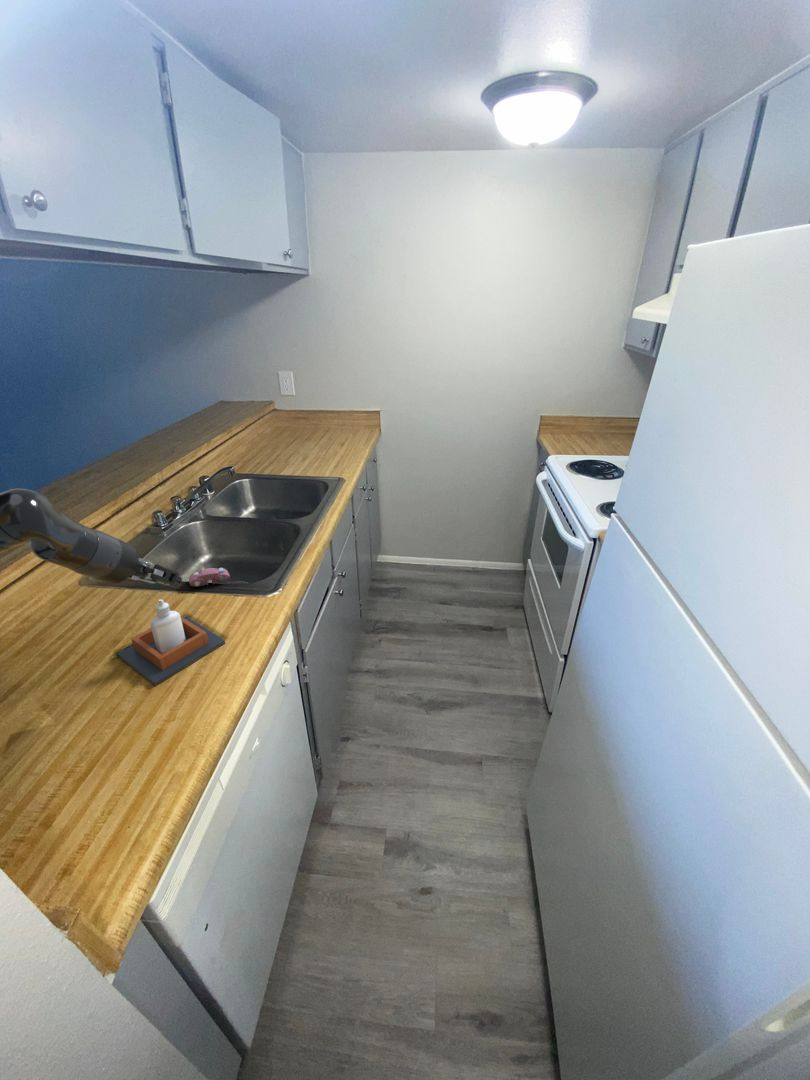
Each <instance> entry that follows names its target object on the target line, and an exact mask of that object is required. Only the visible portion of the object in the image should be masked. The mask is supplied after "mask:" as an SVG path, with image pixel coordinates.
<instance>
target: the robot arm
mask: <svg viewBox="0 0 810 1080" xmlns="http://www.w3.org/2000/svg"><path fill="white" fill-rule="evenodd" d="M27 542H29V547H30V550H31V552H32V553H33V554H34V555H35V557H37V558H39V559H41V560H42V561H45V562H47V563H50V564H53V565H55V566H59V567H62V568H66V569H67V570H70V571H72V572H74V573H75V574H78V575H82V576H84V577H88V578H90V579H94V580H97V581H100V582H103V583H107V584H115V585H116V584H120V583H122V582H124V581H126V580H127V579H130V580H133V581H140V582H144V583H145V582H146V583H149V584H156V583H158V584H162V585H163V586H169V587H171V588H173V589H179V588H180V587H181V584H182V581H183V577H181V576H179V575H180V573H178V571H174V570H172V569H170V568H167V567H165V566H162V565H160V564H155V563H153V562H150V561H147V560H146V559H144V558H141V557H139V555H138V552H137V550H136V548H135V547H134V546H133V545H132V544H130V543H128V542H126V541H124V540H121V539H119V538H117V537H114V536H113V535H110V534H108V533H106V532H104V531H101V530H99V529H94V528H92V527H89V526H86V525H84V524H82V523H80V522H78V521H75V520H73V519H72V518H70V517H69V516H68V515H67V514H66V513H65V512H64V511H63V510H61V508H59V507H58V506H57V505H56V504H55V503H54V502H53V501H52V500H51V499H50V498H49V497H47V496H46V495H45V494H43V493H42V492H40V491H37V490H35V489H30V488H25V487H23V488H22V487H17V488H16V487H15V488H11V489H7V490H5V491H3V492H0V553H4V552H5V551H8V550H11V549H13V548H15V547H19V546H21V545H23V544H26V543H27ZM149 575H150V576H149ZM148 576H149V578H147V577H148Z"/></svg>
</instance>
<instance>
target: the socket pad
mask: <svg viewBox="0 0 810 1080" xmlns="http://www.w3.org/2000/svg"><path fill="white" fill-rule="evenodd" d="M180 617H181V621H182V625H183V629H184V634H185V638H186V641H185V642H183V643H181V644H179V645H178V646H176V647H174V648H172V649H171V650H169V651H167V652H165V653H164V654H161V653H159V652H158V651H157V648H156V644H155V641H154V637H153V633H152V629H151V627H150V628H149V629H148V628H147V629H146V630H145V631H142V632H141V633H139V634H137V635H134V636H133V637H131V638H130V640H131V643H132V644H131V645H130V646H128V647H126V648H124V649H122V650H120V651H118V652H117V653H116V655H117V658H118V659H120V660H121V661H122V662H123V663H125V664H126V665H127V666H129V667H130V668H131V669H132V670H134V671H135V672H136V673H138V674H139V675H140V676H141V677H143V678H144V679H145V680H147V681H148V682H149V683H150V684H151V685H153V686H154V687H157V686H158V685H161V684H162V683H164V682H165V681H167V680H168V679H170V678H172V677H173V676H175V675H176V674H178V673H180V672H182V671H183V670H184V669H186V668H188V667H189V666H191V665H193V664H194V663H196V662H198V661H199V660H201V659H202V658H204V657H205V656H207V655H209V654H210V653H212V652H214V651H215V650H217V649H219V648H220V647H222V646H223V645H225V644H226V640H225V639H224V638H222V637H221V636H219V635H218V634H216V633H214V632H213V631H212V630H209V629H208V628H206V627H204V626H203V625H201V624H200V623H198V622H197V621H195V620H193V619H192V618H190V617H188V616H185V617H183V616H182V615H180Z"/></svg>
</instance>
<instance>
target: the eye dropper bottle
mask: <svg viewBox="0 0 810 1080" xmlns="http://www.w3.org/2000/svg"><path fill="white" fill-rule="evenodd" d="M155 611H156V614H157V615H155V617H154V618H152V619H151V620H150V628H151V629H152V633H153V637H154V641H155V644H156V648H157V651H158V652H159V653H161V654H164V653H165V652H167V651H169V650H171V649H172V648H174V647H176V646H178V645H179V644H181V643H183V642H185V641H186V638H185V634H184V629H183V625H182V621H181V617H182V616H181V614H180V613H179V612H178V611H176V610H171V608H170V604H169V603H168V602H165V601H164V599H162V598H160V599H158V604H156V605H155ZM180 616H181V617H180Z"/></svg>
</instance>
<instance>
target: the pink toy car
mask: <svg viewBox="0 0 810 1080" xmlns="http://www.w3.org/2000/svg"><path fill="white" fill-rule="evenodd" d="M230 577H231V575H230V573H229V571H228V570H227V569H226V568H224V567H219V568H218V567H217V568H215V567H213V568H212V567H207V568H204V569H202V570H199V571H194V572H193V573H191V574H190V576H189V578H188V584H189V586H190V587H193V588H194V587H196V588H197V587H202V586H208V585H209V581H211V584H212V585H215V584H220V583H225V582H226V581H229V580H230Z"/></svg>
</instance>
